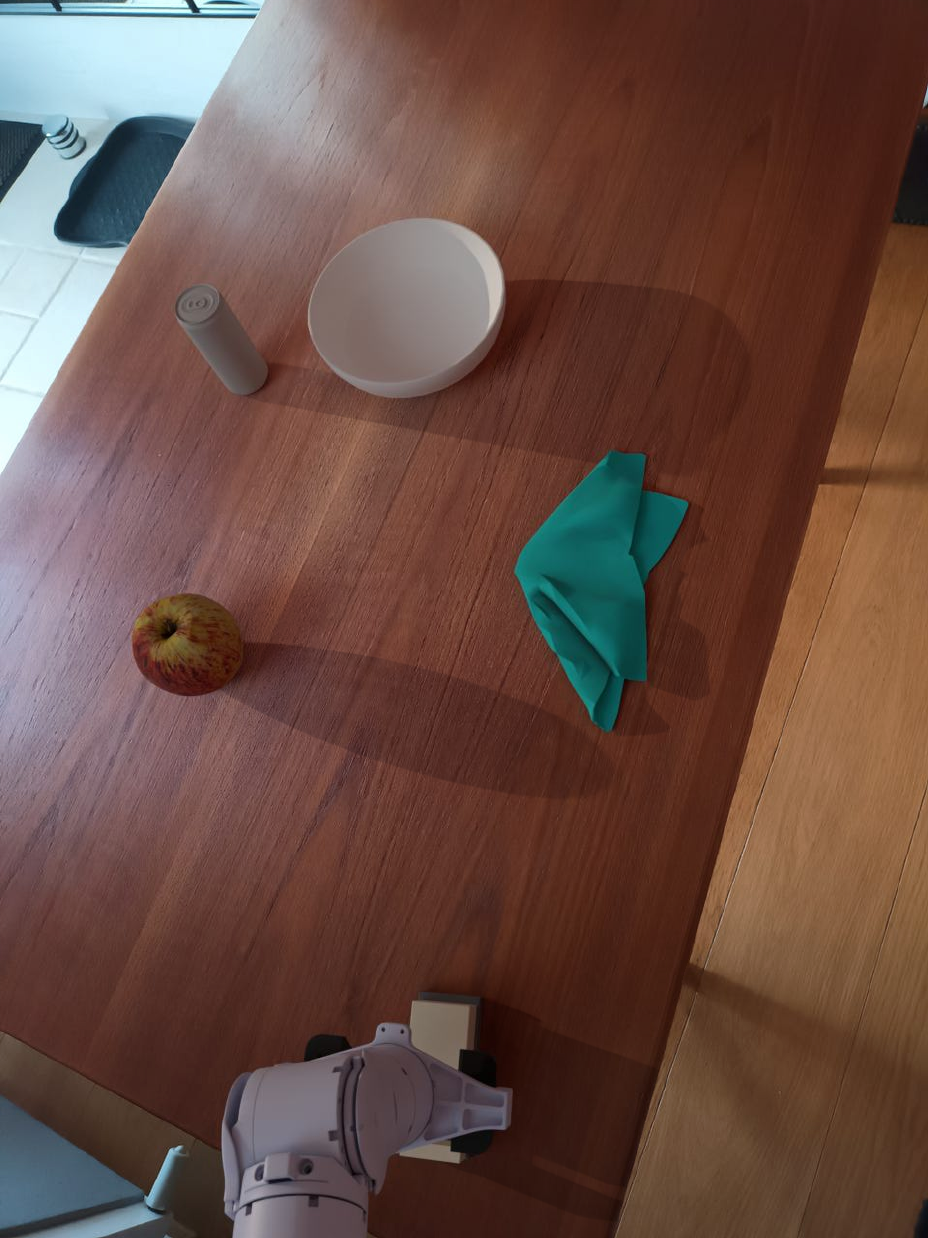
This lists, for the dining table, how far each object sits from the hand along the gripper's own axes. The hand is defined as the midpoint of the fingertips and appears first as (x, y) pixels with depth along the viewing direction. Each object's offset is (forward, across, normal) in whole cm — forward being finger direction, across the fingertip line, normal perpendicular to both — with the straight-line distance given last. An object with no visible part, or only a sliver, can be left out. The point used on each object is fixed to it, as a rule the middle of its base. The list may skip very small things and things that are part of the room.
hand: (421, 1081), depth 65 cm
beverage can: (+8, +27, -63) cm, 69 cm away
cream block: (+8, 0, 0) cm, 8 cm away
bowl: (+8, +9, -67) cm, 68 cm away
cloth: (+8, -10, -40) cm, 42 cm away
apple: (+8, +25, -32) cm, 41 cm away
